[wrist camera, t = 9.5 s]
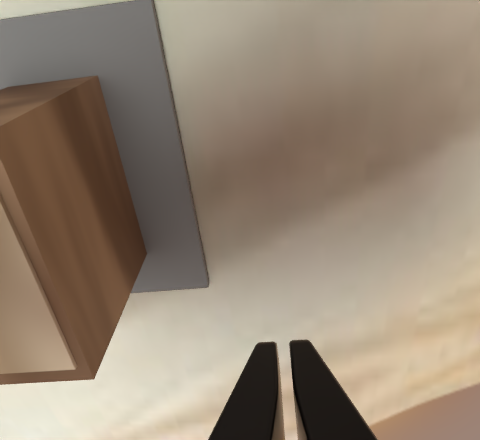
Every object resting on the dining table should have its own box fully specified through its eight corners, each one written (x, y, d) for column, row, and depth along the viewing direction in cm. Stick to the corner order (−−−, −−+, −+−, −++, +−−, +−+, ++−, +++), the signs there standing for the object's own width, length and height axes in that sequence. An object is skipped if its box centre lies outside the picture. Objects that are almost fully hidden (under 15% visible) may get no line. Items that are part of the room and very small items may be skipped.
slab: (97, 75, 17) (-15, 133, 10) (147, 253, 22) (92, 382, 14) (8, 86, 18) (-161, 150, 11) (74, 260, 22) (-15, 388, 15)
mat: (152, -2, 16) (150, -2, 16) (209, 282, 23) (208, 287, 23) (-211, 49, 18) (-220, 51, 17) (-59, 303, 24) (-63, 307, 24)
